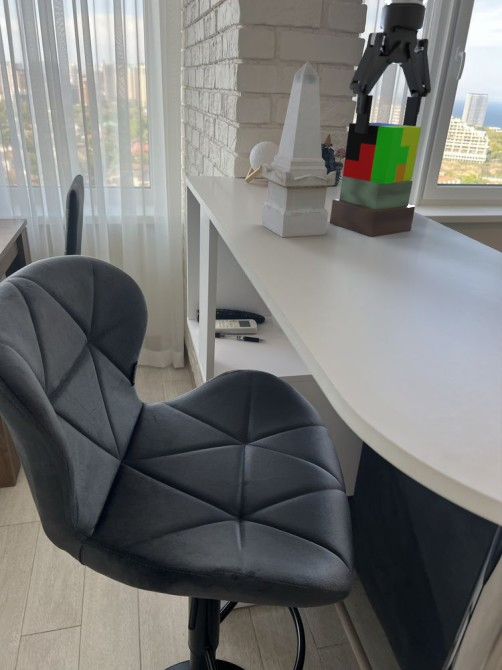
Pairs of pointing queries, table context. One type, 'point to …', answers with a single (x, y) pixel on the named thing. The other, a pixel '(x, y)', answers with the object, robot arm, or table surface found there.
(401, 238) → the table surface
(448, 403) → the table surface
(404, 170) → the puzzle toy
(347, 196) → the block stack
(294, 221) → the miniature monument
